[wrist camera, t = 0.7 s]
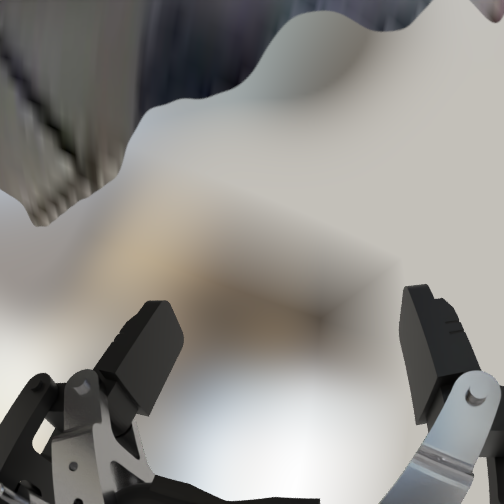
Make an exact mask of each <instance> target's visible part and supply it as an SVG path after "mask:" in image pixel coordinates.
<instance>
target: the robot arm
mask: <svg viewBox="0 0 504 504" xmlns="http://www.w3.org/2000/svg"><path fill="white" fill-rule="evenodd" d="M399 337H400V343H401V347H402V352H403V356H404V361H405V365H406V370H407V375H408V380H409V385H410V390H411V396H412V402H413V408H414V414H415V421H416V425H420V424H425V423H427V427H428V435H427V436H426V438H425V439H424V441H423V443H422V444H421V446H420V448H419V449H418V451H417V452H416V454H415V455H414V457H413V458H412V460H411V461H410V463H409V464H408V466H407V467H406V469H405V470H404V471H403V473H402V474H401V476H400V477H399V478H398V480H397V481H396V482H395V484H394V485H393V486H392V488H391V489H390V490H389V491H388V493H387V494H386V495H385V496H384V498H383V499H382V500H381V501H380V502H379V504H461V502H462V501H463V499H464V497H465V495H466V494H467V492H468V490H469V488H470V486H471V484H472V481H473V478H474V474H473V473H472V471H473V468H474V465H475V463H476V461H477V459H478V457H486V458H487V467H488V476H489V492H490V504H504V386H500V385H499V384H498V382H497V381H496V379H495V378H494V377H493V376H492V375H490V374H488V373H486V372H483V371H481V369H480V367H479V364H478V361H477V359H476V356H475V354H474V352H473V349H472V347H471V344H470V342H469V340H468V338H467V335H466V333H465V332H464V329H463V327H462V324H461V322H459V318H458V316H457V314H456V312H455V310H454V308H453V307H452V306H451V305H450V304H448V302H446V301H445V300H444V299H443V298H440V299H434V297H433V294H432V292H431V290H430V288H429V286H428V285H427V284H422V285H414V286H405V287H404V290H403V297H402V307H401V314H400V322H399ZM183 343H184V337H183V332H182V330H181V327H180V325H179V323H178V321H177V318H176V316H175V314H174V311H173V309H172V307H171V305H170V303H169V302H168V301H165V300H164V301H147V302H146V303H145V304H144V305H143V307H142V308H141V309H140V311H139V312H138V313H137V314H136V315H135V316H134V317H132V318H131V319H130V320H129V321H127V322H126V324H125V325H124V326H123V328H122V329H121V331H120V334H118V335H117V336H116V337H115V339H114V342H112V343H111V345H110V346H109V347H108V349H107V350H106V352H105V353H104V354H103V356H102V357H101V359H100V360H99V362H98V363H97V365H96V366H95V367H94V369H93V370H90V369H85V370H81V371H79V372H77V373H75V374H74V375H73V376H72V377H71V378H70V379H69V380H68V381H67V383H55V382H54V381H53V380H52V379H51V377H50V376H49V375H48V374H46V373H40V374H37V375H35V376H34V377H32V378H31V379H30V380H29V381H28V383H27V384H26V386H25V387H24V388H23V390H22V391H21V393H20V395H19V396H18V398H17V399H16V400H15V402H14V404H13V405H12V406H11V408H10V410H9V411H8V413H7V414H6V416H5V418H4V419H3V421H2V422H1V424H0V504H320V499H305V498H304V499H303V498H281V497H272V498H264V499H254V500H244V501H225V500H223V499H220V498H218V497H216V496H213V495H211V494H209V493H207V492H205V491H203V490H201V489H199V488H197V487H195V486H193V485H191V484H188V483H183V482H180V481H175V480H172V479H168V478H165V477H161V476H158V475H155V474H154V473H153V472H152V470H151V469H150V467H149V465H148V463H147V460H146V457H145V453H144V449H143V446H142V442H141V438H140V434H139V431H138V426H137V423H136V421H135V420H134V417H135V415H136V414H140V415H145V416H149V415H150V413H151V411H152V409H153V406H154V404H155V402H156V400H157V398H158V396H159V394H160V392H161V390H162V388H163V386H164V384H165V382H166V380H167V377H168V376H169V373H170V372H171V370H172V368H173V365H174V363H175V361H176V359H177V357H178V355H179V353H180V351H181V349H182V347H183ZM44 418H45V419H47V421H48V422H50V423H51V424H52V425H53V426H54V427H55V430H54V431H53V433H52V435H51V437H50V439H49V441H48V443H47V444H46V446H45V448H44V450H43V452H42V453H41V454H39V453H37V452H36V451H35V450H34V448H33V446H32V440H33V438H34V436H35V434H36V432H37V431H38V429H39V427H40V425H41V424H42V422H43V420H44ZM20 481H21V482H20Z"/></svg>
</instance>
